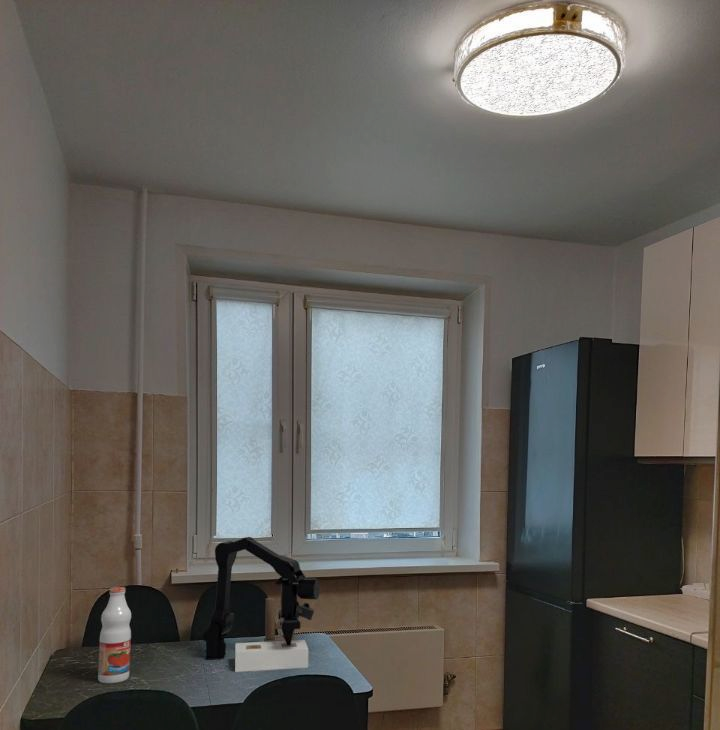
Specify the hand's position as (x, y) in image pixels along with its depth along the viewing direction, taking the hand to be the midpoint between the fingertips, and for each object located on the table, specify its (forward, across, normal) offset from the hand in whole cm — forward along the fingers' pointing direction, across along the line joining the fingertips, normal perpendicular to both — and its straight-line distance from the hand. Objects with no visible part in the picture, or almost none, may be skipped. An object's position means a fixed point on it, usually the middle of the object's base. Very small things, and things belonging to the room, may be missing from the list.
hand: (288, 645), depth 231 cm
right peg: (+5, 0, 0) cm, 5 cm away
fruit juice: (+6, -6, +56) cm, 57 cm away
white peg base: (+6, 0, +6) cm, 8 cm away
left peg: (+5, 0, +12) cm, 13 cm away
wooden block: (+6, +20, +2) cm, 21 cm away
